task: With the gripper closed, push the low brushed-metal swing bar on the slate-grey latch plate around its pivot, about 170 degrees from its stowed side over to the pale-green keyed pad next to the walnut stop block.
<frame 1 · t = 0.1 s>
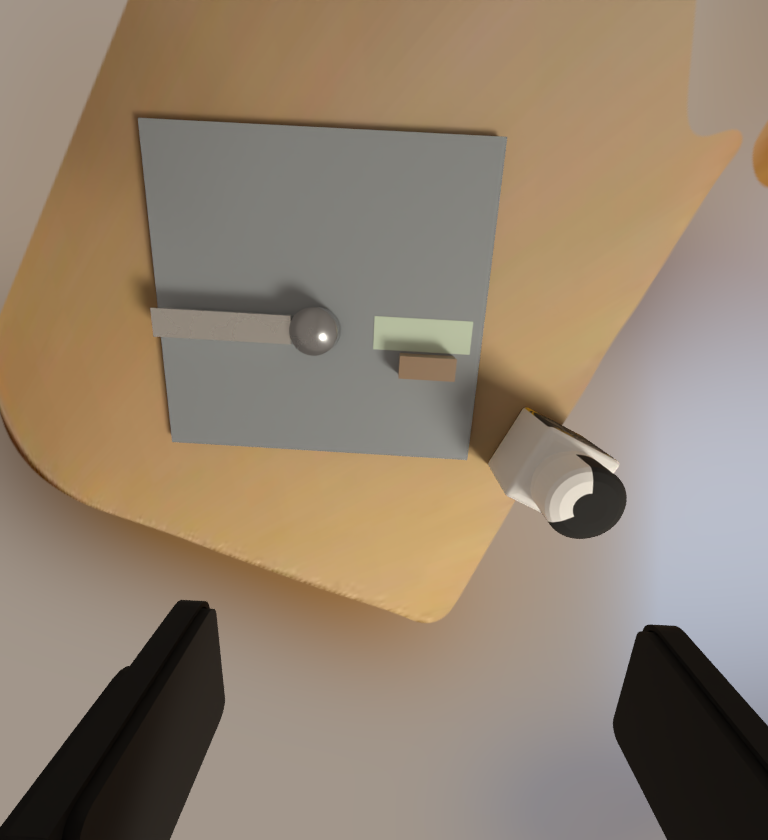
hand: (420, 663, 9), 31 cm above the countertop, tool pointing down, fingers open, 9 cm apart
swing bar: (248, 327, 34), point 3 cm above the countertop, hinge at 0.0°
latch plate: (322, 307, 37), on the countertop
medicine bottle: (533, 449, 40), on the countertop
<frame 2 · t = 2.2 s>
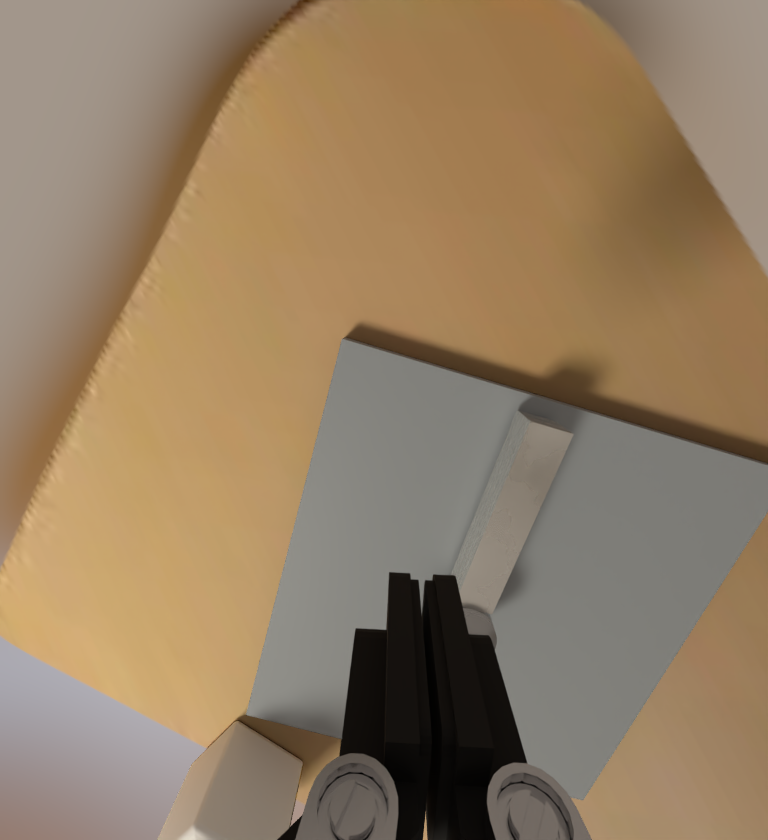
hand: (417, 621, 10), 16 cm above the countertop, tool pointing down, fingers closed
swing bar: (492, 544, 23), point 3 cm above the countertop, hinge at 0.0°
latch plate: (480, 597, 28), on the countertop
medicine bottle: (248, 758, 34), on the countertop
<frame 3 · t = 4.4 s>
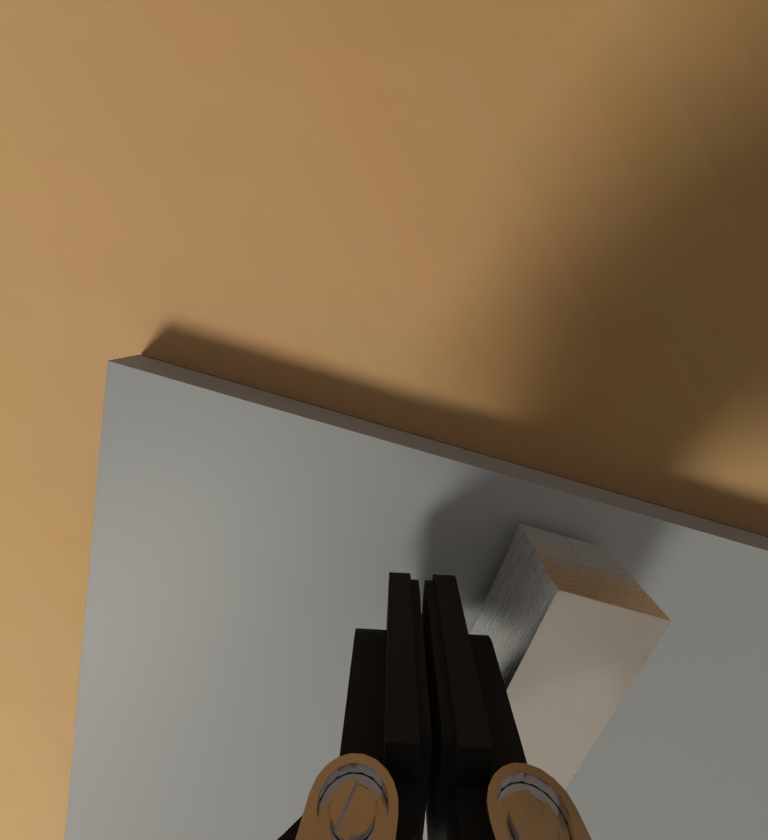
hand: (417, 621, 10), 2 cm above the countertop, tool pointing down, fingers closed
swing bar: (465, 805, 11), point 3 cm above the countertop, hinge at 0.2°, touching gripper
latch plate: (448, 821, 15), on the countertop
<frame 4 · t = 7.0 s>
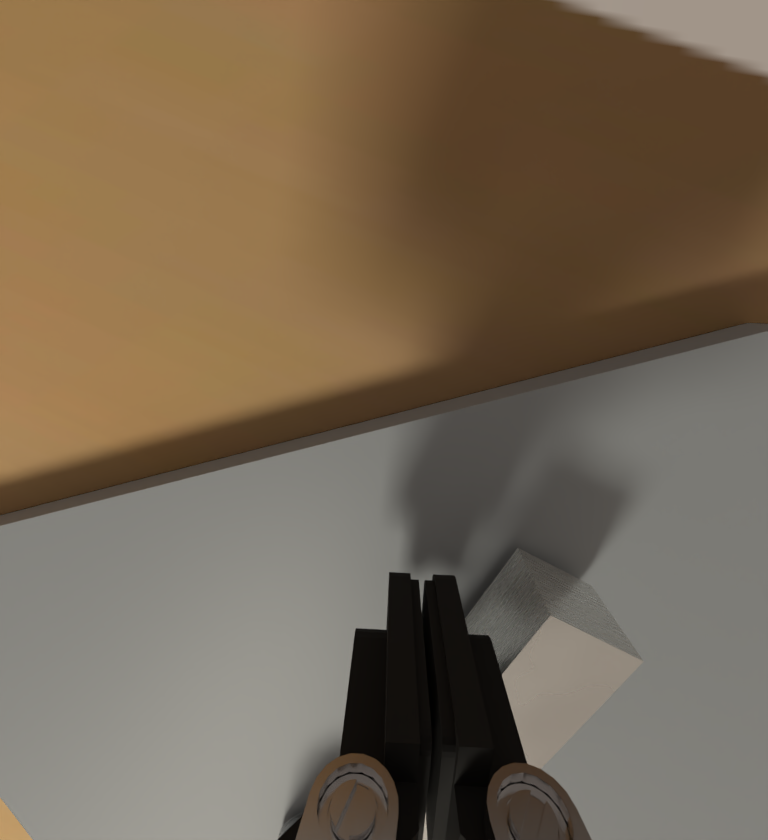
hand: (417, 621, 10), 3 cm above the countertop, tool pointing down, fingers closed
swing bar: (412, 800, 11), point 3 cm above the countertop, hinge at 43.8°, touching gripper
latch plate: (385, 790, 16), on the countertop
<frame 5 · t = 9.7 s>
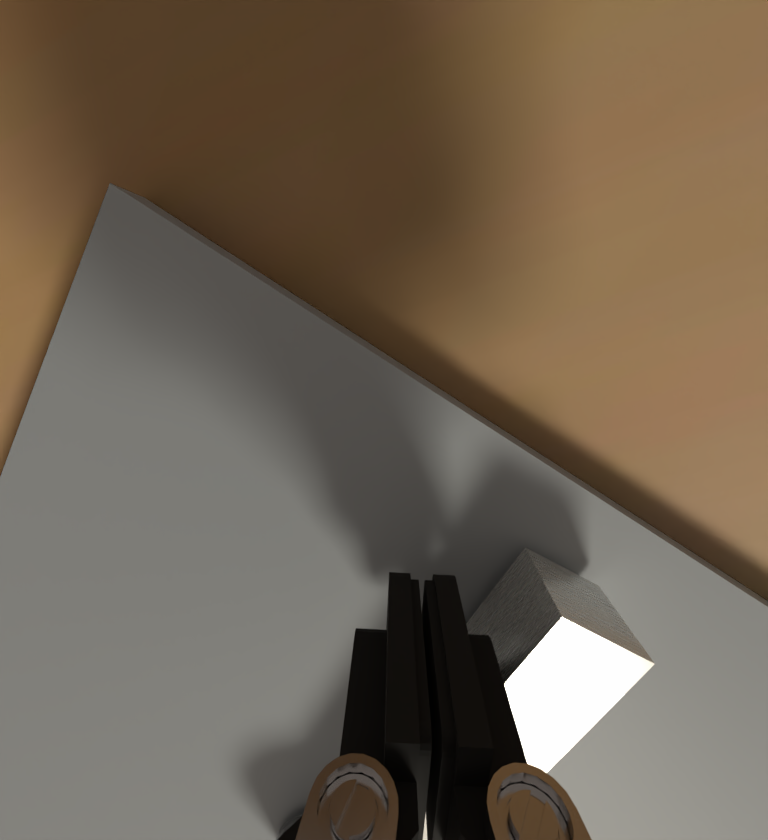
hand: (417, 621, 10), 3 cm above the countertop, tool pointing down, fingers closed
swing bar: (414, 802, 11), point 3 cm above the countertop, hinge at 86.4°, touching gripper
latch plate: (362, 768, 15), on the countertop
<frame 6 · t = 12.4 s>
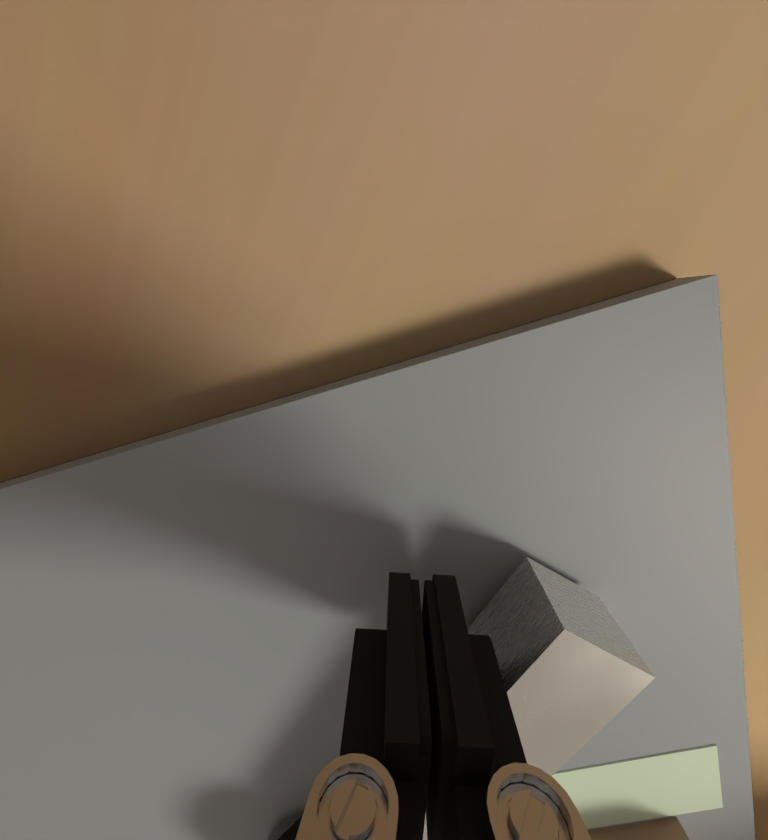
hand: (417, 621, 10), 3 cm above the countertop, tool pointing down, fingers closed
swing bar: (408, 810, 11), point 3 cm above the countertop, hinge at 137.6°, touching gripper
latch plate: (310, 768, 15), on the countertop
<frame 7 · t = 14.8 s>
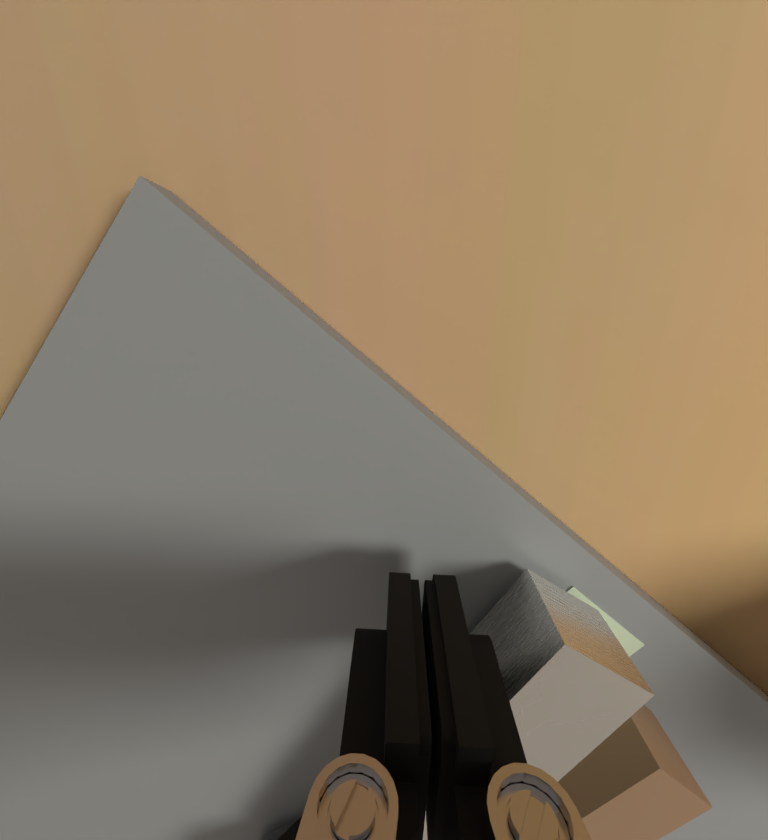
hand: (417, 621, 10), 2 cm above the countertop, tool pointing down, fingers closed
swing bar: (400, 821, 11), point 3 cm above the countertop, hinge at 171.9°, touching gripper
latch plate: (277, 784, 15), on the countertop
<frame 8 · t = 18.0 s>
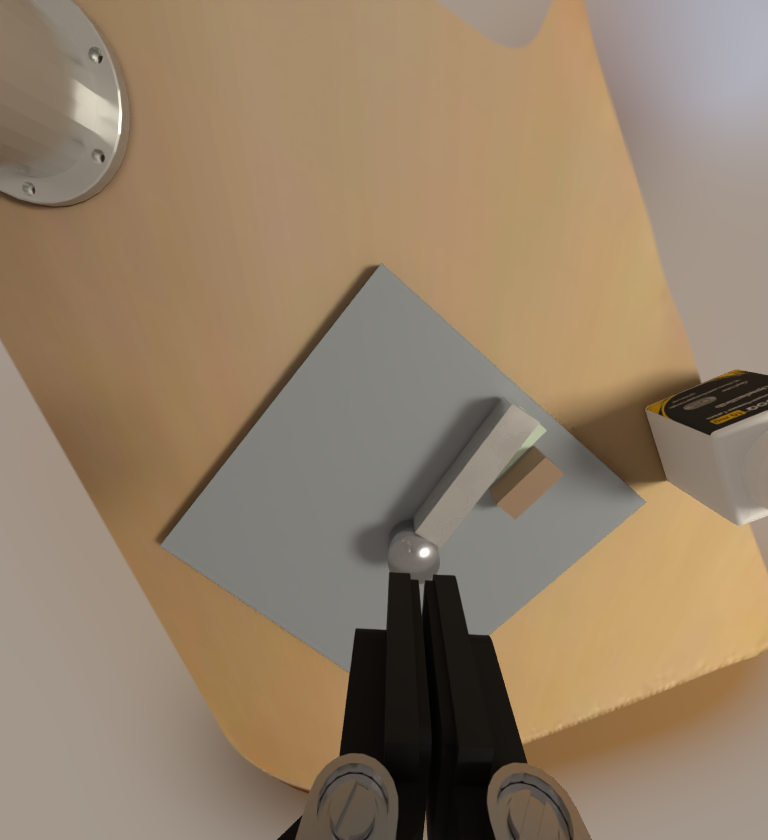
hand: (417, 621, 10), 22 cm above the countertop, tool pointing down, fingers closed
swing bar: (456, 494, 30), point 3 cm above the countertop, hinge at 172.2°
latch plate: (394, 517, 34), on the countertop
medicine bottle: (697, 426, 31), on the countertop
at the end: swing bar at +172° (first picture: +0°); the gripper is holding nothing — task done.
